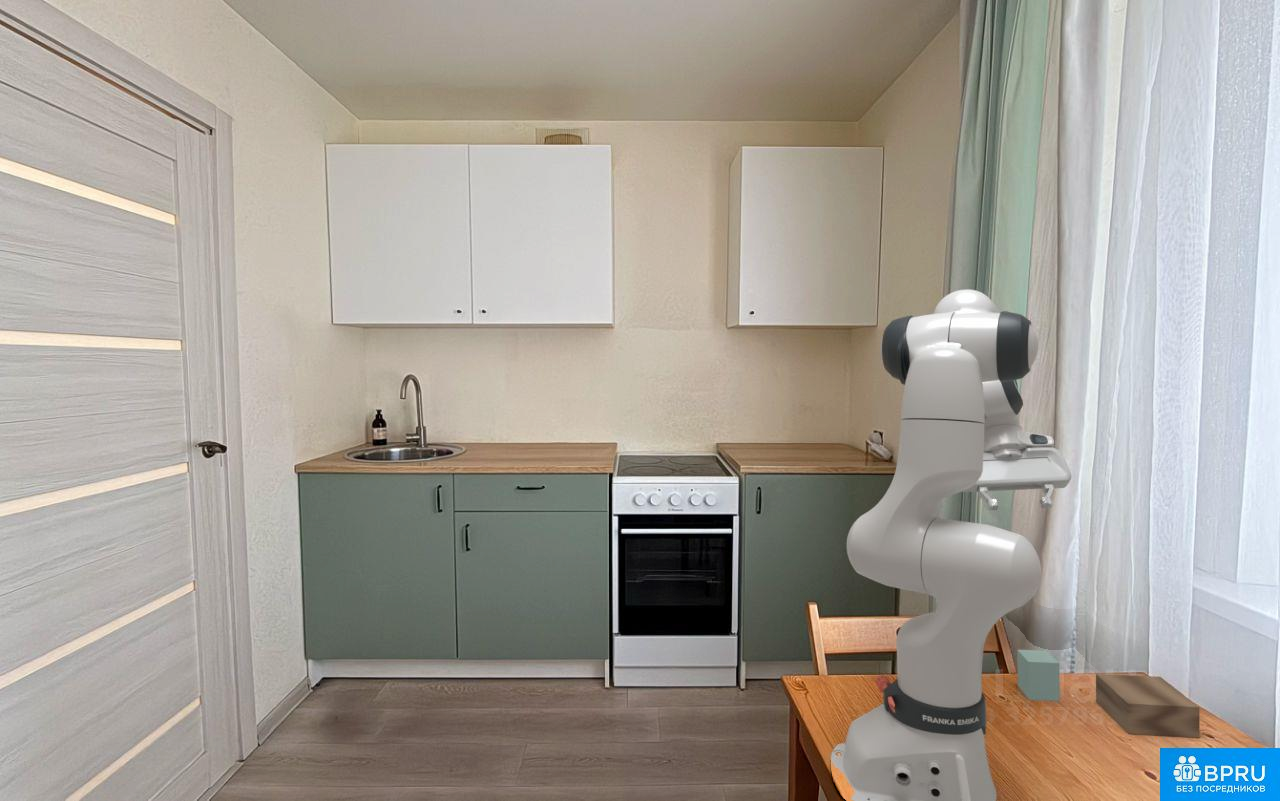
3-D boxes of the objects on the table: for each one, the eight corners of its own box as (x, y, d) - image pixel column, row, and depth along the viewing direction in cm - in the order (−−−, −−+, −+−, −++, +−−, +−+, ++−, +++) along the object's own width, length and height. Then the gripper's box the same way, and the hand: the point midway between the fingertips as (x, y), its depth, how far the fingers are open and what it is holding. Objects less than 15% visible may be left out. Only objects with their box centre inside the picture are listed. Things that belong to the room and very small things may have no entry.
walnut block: (1128, 733, 102) (1128, 703, 102) (1096, 701, 112) (1095, 673, 112) (1199, 737, 101) (1199, 707, 100) (1160, 704, 110) (1160, 676, 110)
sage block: (1029, 700, 114) (1028, 661, 114) (1017, 686, 119) (1017, 649, 118) (1059, 701, 113) (1059, 663, 113) (1047, 687, 118) (1046, 650, 117)
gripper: (950, 443, 133) (964, 503, 125) (1061, 436, 128) (1083, 498, 120) (947, 458, 138) (960, 516, 130) (1053, 452, 133) (1074, 513, 125)
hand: (1020, 508), depth 125 cm, fingers open, 8 cm apart
